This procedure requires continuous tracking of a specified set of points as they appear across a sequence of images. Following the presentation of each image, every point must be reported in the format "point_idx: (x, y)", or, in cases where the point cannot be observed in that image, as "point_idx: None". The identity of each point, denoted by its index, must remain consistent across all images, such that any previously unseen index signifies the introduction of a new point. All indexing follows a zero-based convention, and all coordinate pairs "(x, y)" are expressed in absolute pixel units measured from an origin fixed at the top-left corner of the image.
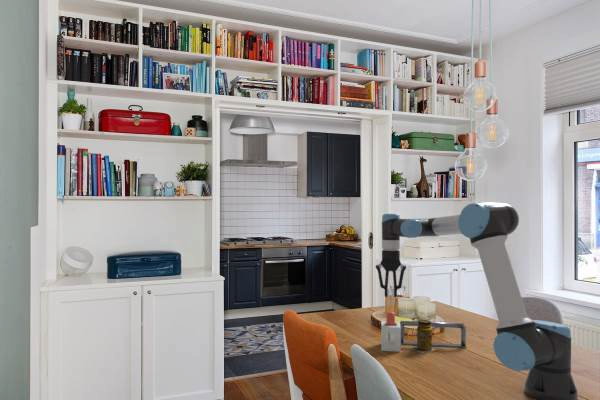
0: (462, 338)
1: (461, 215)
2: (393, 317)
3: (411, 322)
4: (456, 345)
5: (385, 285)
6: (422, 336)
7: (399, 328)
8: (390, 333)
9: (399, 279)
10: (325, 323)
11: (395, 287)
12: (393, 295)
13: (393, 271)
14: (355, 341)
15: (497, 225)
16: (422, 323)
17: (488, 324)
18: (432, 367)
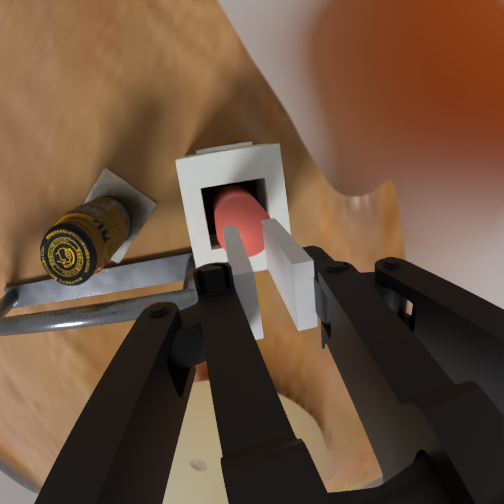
0: (1, 302)
1: None
2: (222, 207)
3: (146, 303)
4: (25, 289)
5: (358, 280)
6: (91, 207)
7: (182, 158)
8: (227, 145)
9: (164, 413)
10: None
11: (217, 297)
12: (234, 253)
13: (304, 487)
14: (363, 231)
15: None
16: (70, 224)
17: (48, 473)
18: (72, 36)
